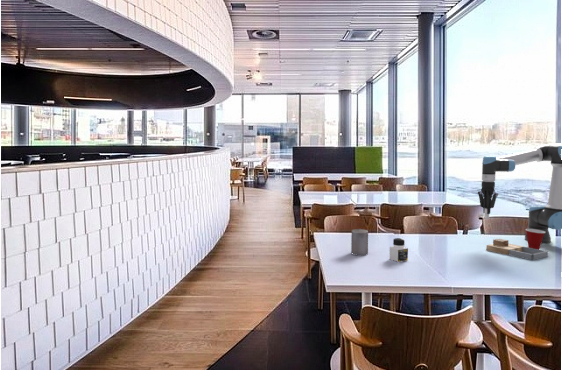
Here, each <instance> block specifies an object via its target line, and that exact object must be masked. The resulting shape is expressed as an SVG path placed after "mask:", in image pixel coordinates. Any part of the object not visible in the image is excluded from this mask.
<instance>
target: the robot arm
mask: <svg viewBox="0 0 562 370" xmlns="http://www.w3.org/2000/svg"><path fill="white" fill-rule="evenodd" d="M561 149H562V143H561V142H560V143H559V142H558V143H557V142H556V143H555V142H554V143H547V144H543V145H539V146H535V147H534V148H533V149H530V150H526V151H522V152H521V151H520V152H515V153H513V154H512V153H511V154H507V155H503V156H499V157H498V156H493V155H492V156H490V155H486V156H483V158H482V163H481V164H482V166H481V167H482V168H481V169H482V170H481V173H482V174H481V189H480V190H479V191H477V195H478V199H479V204H480V207H481V208H482V209H483V211H482V212H483V214H484V215H483V219H484V220H489V219H490V215H491V210H492V209H494V207H495V203H496V200H497V197H498V196H499V193H498V192H496V190H495V187H496V172H498V173H499V172H501V173H502V172H503V173H505V172H507V173H509V172H514V171H515V169H516V166H518V165H523V164H528V163H532V162H537V163H539V162H550V165H551V166H552V172H551V173H552V174H551V180H550V186H549V193H548V200H547V204H546V205H541V206H539V205H536V206H535V205H533V206H530V207H529V209H528V226H527V229H536V230H541V231H545V234H544V236H543V239H542V242H541V244H542V243H543V244H545V243H550V242H552V240H551V239H552V237H551V234H550V231H549V229H550V230H557V231H558V230H562V160H561V155H560V154H561ZM524 240H525V241H527V234H526V233H525V235H524Z"/></svg>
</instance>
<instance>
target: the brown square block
mask: <svg viewBox="0 0 562 370" xmlns="http://www.w3.org/2000/svg"><path fill="white" fill-rule="evenodd" d="M509 241H510V240H507V239H503V238H495V239H493V242H492V244H493V245H498V246H507V245H508V243H509Z"/></svg>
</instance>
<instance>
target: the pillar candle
mask: <svg viewBox="0 0 562 370" xmlns="http://www.w3.org/2000/svg"><path fill="white" fill-rule="evenodd" d="M350 237H351V241H350V242H351V243H350V245H351V251H350V254H351V253H353V254H357V255H356V256H358V255H361V256H367V255H368V254H369V231H368V230H367V229H362V228H355V229H351V236H350ZM353 254H352V255H353ZM366 254H367V255H366Z"/></svg>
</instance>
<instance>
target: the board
mask: <svg viewBox="0 0 562 370" xmlns="http://www.w3.org/2000/svg"><path fill="white" fill-rule="evenodd" d="M523 247H525V246H524V245H518V244H514V243H509V242H508V245H507V246H498V245H493V243H491V244H486V251H489V252H493V253H498V254H503V255H507V256H510V255H509V250H515V251H520V252H523Z"/></svg>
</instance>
